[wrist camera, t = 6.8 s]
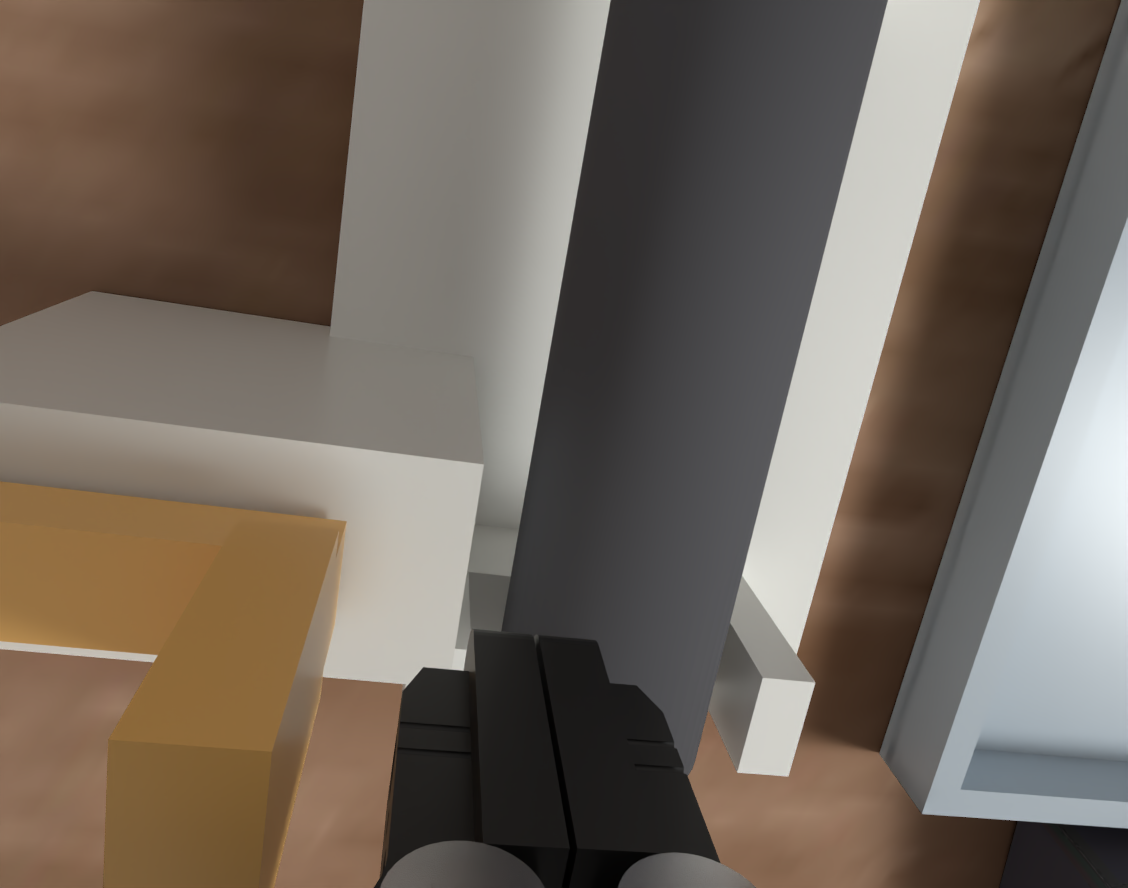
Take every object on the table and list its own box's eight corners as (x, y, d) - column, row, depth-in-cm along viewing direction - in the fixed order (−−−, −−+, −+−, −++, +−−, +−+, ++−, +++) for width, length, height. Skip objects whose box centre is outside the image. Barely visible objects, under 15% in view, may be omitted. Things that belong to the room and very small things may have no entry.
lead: (634, -232, 14) (700, -372, 10) (870, -170, 15) (1013, -282, 11) (483, 662, 19) (491, 791, 15) (669, 679, 19) (721, 807, 16)
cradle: (109, -418, 15) (-220, -965, 8) (1004, -176, 18) (1395, -410, 11) (83, 622, 21) (-123, 884, 14) (768, 685, 24) (915, 933, 16)
